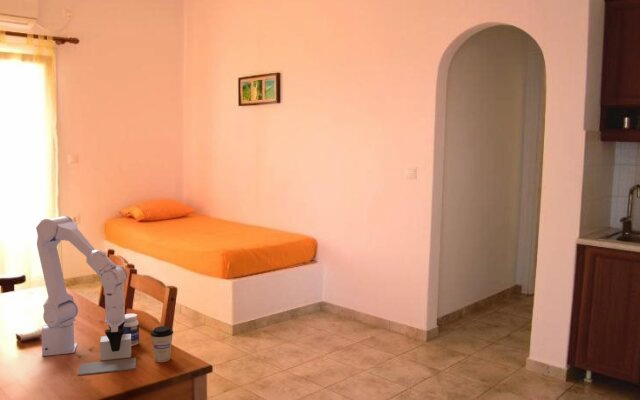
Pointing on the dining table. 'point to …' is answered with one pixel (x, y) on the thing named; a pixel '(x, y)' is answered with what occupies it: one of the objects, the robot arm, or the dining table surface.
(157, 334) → the coffee cup
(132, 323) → the pill bottle
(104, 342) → the cover
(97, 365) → the mat
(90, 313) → the dining table surface
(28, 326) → the dining table surface
